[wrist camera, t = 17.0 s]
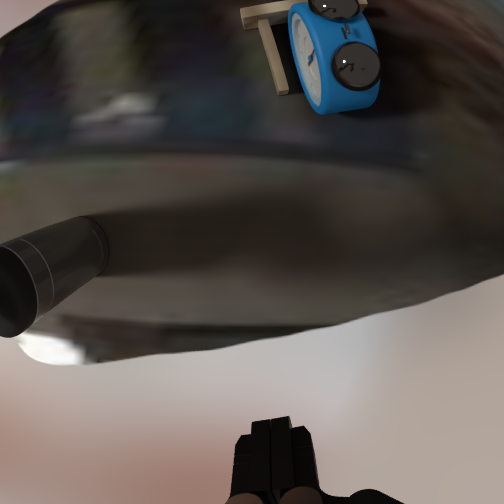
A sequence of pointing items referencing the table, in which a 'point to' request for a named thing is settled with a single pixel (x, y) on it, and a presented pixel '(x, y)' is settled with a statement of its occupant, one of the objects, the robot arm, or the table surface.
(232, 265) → the table surface
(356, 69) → the alarm clock
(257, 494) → the robot arm
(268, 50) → the wooden staple shape
